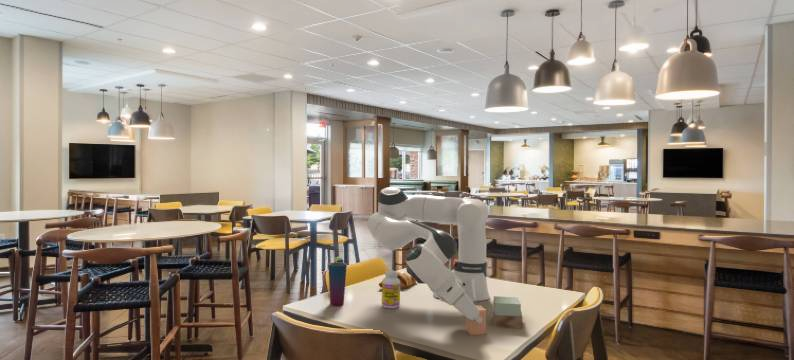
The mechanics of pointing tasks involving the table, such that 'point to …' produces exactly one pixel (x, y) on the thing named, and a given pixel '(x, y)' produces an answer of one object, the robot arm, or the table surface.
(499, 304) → the tower top
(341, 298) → the cup
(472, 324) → the terracotta block
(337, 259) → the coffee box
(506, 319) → the tower base
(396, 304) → the supplement bottle
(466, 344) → the table surface
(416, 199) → the robot arm
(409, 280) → the croissant
